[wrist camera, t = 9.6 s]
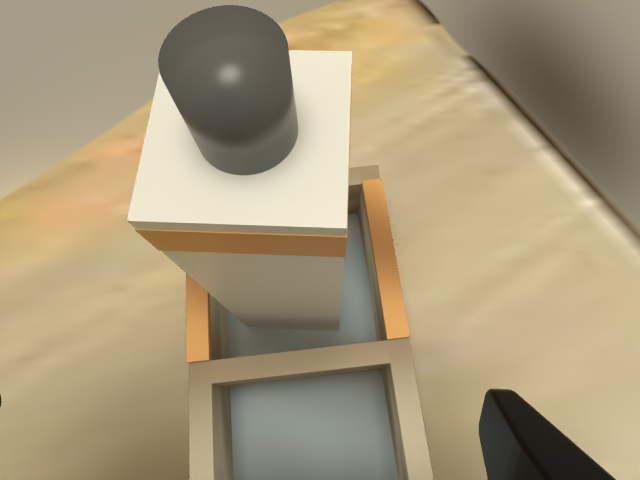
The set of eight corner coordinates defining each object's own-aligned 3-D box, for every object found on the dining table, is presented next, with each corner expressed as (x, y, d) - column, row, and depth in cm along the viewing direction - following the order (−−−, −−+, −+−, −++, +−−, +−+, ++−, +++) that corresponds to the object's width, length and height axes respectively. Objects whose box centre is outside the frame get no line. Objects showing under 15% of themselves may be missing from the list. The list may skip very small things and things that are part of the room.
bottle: (339, 331, 19) (352, 175, 6) (247, 327, 19) (62, 166, 6) (342, 244, 20) (358, -39, 7) (256, 240, 21) (120, -41, 8)
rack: (445, 574, 17) (478, 626, 13) (207, 603, 16) (169, 663, 13) (379, 195, 22) (388, 151, 18) (201, 214, 22) (174, 175, 18)
